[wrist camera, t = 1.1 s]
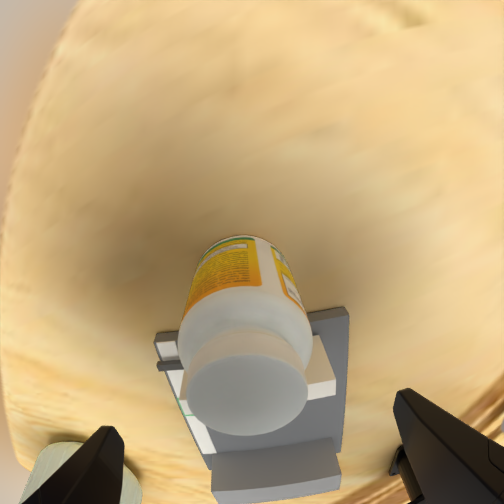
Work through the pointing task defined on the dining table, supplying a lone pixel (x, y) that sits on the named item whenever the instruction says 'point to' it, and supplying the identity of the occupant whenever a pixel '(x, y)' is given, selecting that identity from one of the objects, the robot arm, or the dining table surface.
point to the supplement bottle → (245, 339)
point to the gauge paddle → (316, 372)
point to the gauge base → (277, 432)
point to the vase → (62, 452)
